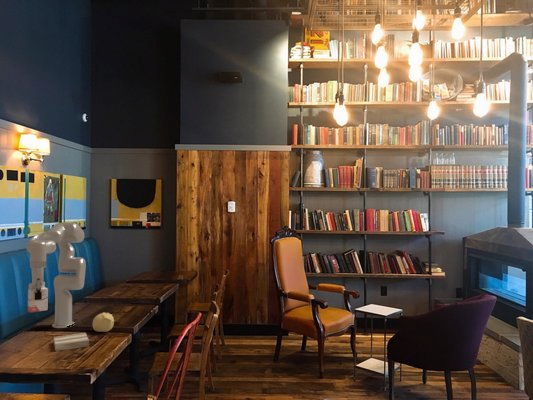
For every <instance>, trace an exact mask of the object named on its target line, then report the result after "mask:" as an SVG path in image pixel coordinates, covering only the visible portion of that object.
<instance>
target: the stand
mask: <svg viewBox="0 0 533 400" xmlns="http://www.w3.org/2000/svg"><path fill="white" fill-rule="evenodd" d="M53 346H54V350H55V352H60V351H67V350H72V349H79V348H86V347H90V339H89V338H88V334H87V333H86V332H80V333H73V334H65V335H60V336H58V335H57V336H53Z"/></svg>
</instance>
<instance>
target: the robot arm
mask: <svg viewBox="0 0 533 400" xmlns="http://www.w3.org/2000/svg"><path fill="white" fill-rule="evenodd" d="M84 239H85V232H84V230H83V229H82V227H81V226H79V224H78V223H76V222H57V223H56V224H54V225H53V226H52V227H51V228H50V229H49V230H47V231H45V232H42V233H39V234H36V235H34V236H33V237H32V238H30V240H29V241H28V242H27V244H26V251H27V252H28V253H29V257H30V259H29V260H30V262H29V268H30V269H31V270H32V271H31V277H32V278H31V281H32V282H31V283H32V287H34V286H35V300H41V299H42V292H41V286H43V282H44V275H45V273H44V272H45V268H47V255H49V254H53V253H54V252H55V251H56V250H57V246H58V248H59V257H58V267H57V269H58V271H59V272H60V273H63V274H59V275H57V276H55V277H54V278H53V279H54V280H53V288H54V299H55V300H54V301H55V302H54V323H53V324H52V325H51V327H52V328H53V329H65V328H68V327H67V326H69V325H72V324H74V323H75V322H74V321H73V296H72V294H71V292H70V291H78V290H82V289H83V288H84V286H85V280H86V279H85V278H86V267H87V265H86V264H87V263H86V262H87V261H86V260H85V258H83V257H82V256H80V257H79V256H77V257H75V252H76V251H75V248H74V246H73V245H72V243H75V244H77V243H82V242H83V241H84ZM64 273H67V274H64ZM68 273H69V274H68ZM70 273H75V274H70ZM74 325H75V324H74Z"/></svg>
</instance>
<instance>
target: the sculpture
mask: <svg viewBox="0 0 533 400" xmlns="http://www.w3.org/2000/svg"><path fill="white" fill-rule="evenodd" d="M114 324H115V319H114V316H113V314H111V313H110V312H102V313H99V314H97V315H95V317H94V318H93V320H92V329H93V330H94V331H95V332H100V333H101V332H102V333H104V332H105V333H106V332H109V331H110V330H113V327H114Z"/></svg>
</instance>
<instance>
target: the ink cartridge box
mask: <svg viewBox="0 0 533 400" xmlns="http://www.w3.org/2000/svg"><path fill="white" fill-rule="evenodd" d="M41 292H42V299H41V300H35V286H34V287H32V282H31V283H30V282H29V284H28V290H27V312H28V313H38V312H42V311H48V308H49V306H48V303H49V301H48V300H49V288H48V287H46V282H45V281H43V286H41Z"/></svg>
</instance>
